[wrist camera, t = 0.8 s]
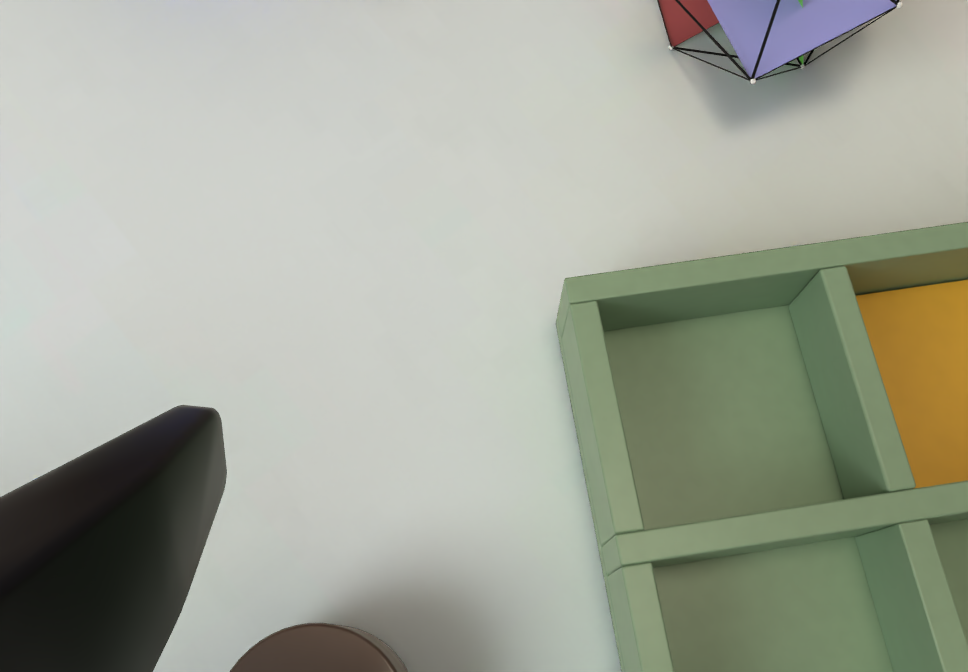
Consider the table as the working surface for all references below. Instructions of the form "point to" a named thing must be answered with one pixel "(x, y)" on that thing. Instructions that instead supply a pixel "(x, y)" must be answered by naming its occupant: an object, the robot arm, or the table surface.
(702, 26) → the geometric puzzle
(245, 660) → the cylinder
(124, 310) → the table surface
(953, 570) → the grid
